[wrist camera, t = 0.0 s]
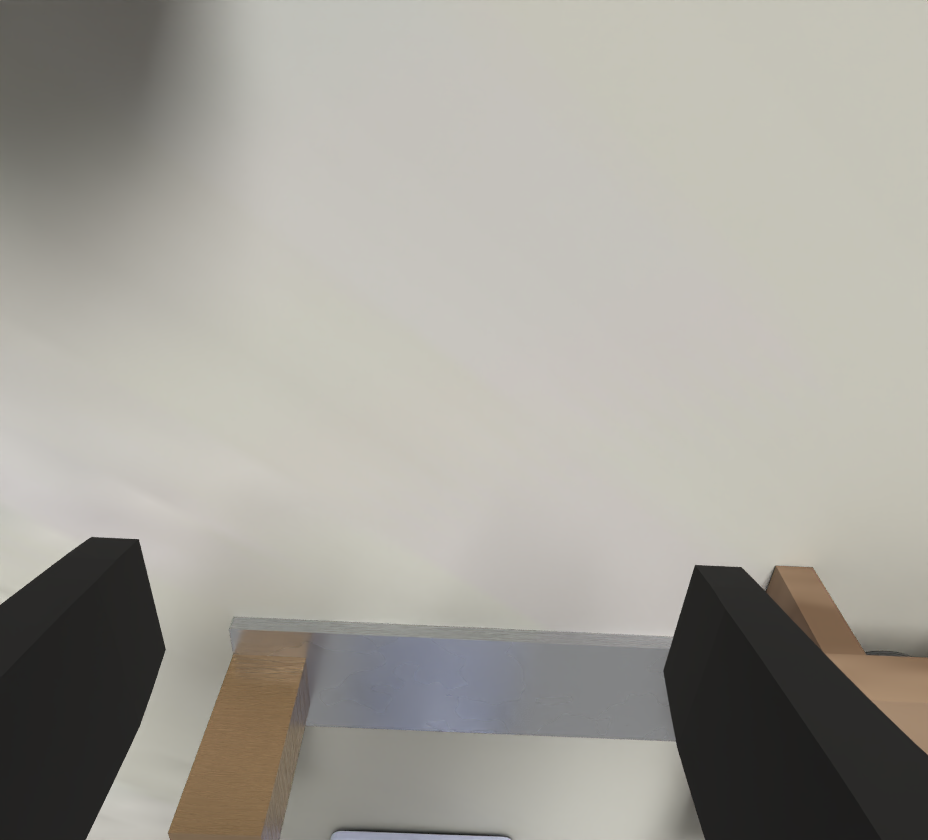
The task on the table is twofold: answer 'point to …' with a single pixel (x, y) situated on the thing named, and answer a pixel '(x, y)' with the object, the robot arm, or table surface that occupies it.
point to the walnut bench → (855, 652)
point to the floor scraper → (403, 701)
